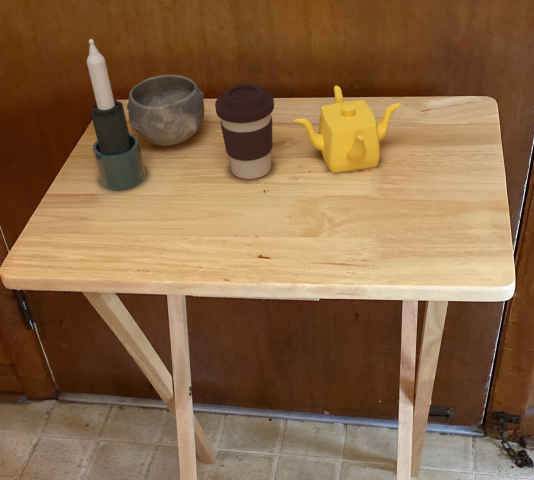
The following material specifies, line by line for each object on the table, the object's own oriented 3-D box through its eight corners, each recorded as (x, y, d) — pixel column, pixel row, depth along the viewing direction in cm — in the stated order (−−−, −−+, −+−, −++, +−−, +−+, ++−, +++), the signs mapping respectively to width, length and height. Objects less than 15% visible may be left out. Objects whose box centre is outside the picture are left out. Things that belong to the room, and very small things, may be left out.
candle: (109, 167, 148) (76, 34, 132) (136, 164, 148) (108, 31, 131) (106, 182, 145) (73, 47, 128) (135, 179, 145) (105, 44, 128)
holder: (109, 195, 143) (100, 161, 139) (95, 174, 149) (87, 140, 144) (151, 181, 146) (144, 147, 141) (137, 161, 151) (129, 128, 146)
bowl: (126, 157, 152) (115, 109, 146) (146, 116, 164) (136, 69, 157) (199, 158, 150) (191, 108, 144) (214, 116, 161) (207, 68, 155)
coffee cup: (268, 149, 151) (262, 73, 140) (286, 176, 144) (281, 98, 133) (217, 162, 149) (207, 86, 139) (233, 189, 142) (223, 111, 132)
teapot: (362, 185, 140) (362, 135, 133) (294, 164, 146) (291, 115, 140) (403, 146, 148) (405, 97, 141) (336, 128, 155) (335, 80, 148)
